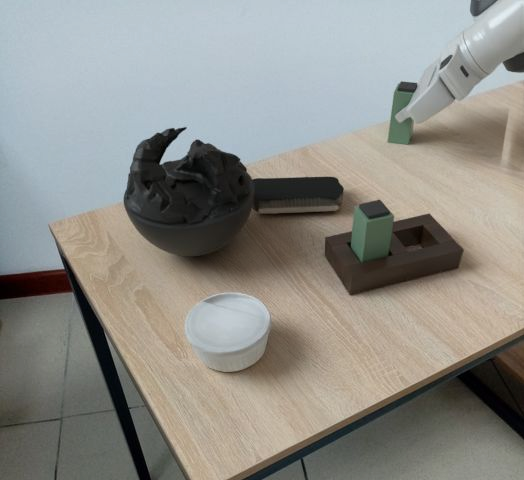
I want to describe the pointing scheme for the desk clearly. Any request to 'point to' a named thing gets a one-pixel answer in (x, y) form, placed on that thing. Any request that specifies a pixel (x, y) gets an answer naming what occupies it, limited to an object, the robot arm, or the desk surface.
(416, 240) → the socket block
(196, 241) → the dark sculpted bowl
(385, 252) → the green square peg
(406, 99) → the green capped post
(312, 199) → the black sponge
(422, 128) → the desk surface
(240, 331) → the ramekin
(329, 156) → the desk surface
